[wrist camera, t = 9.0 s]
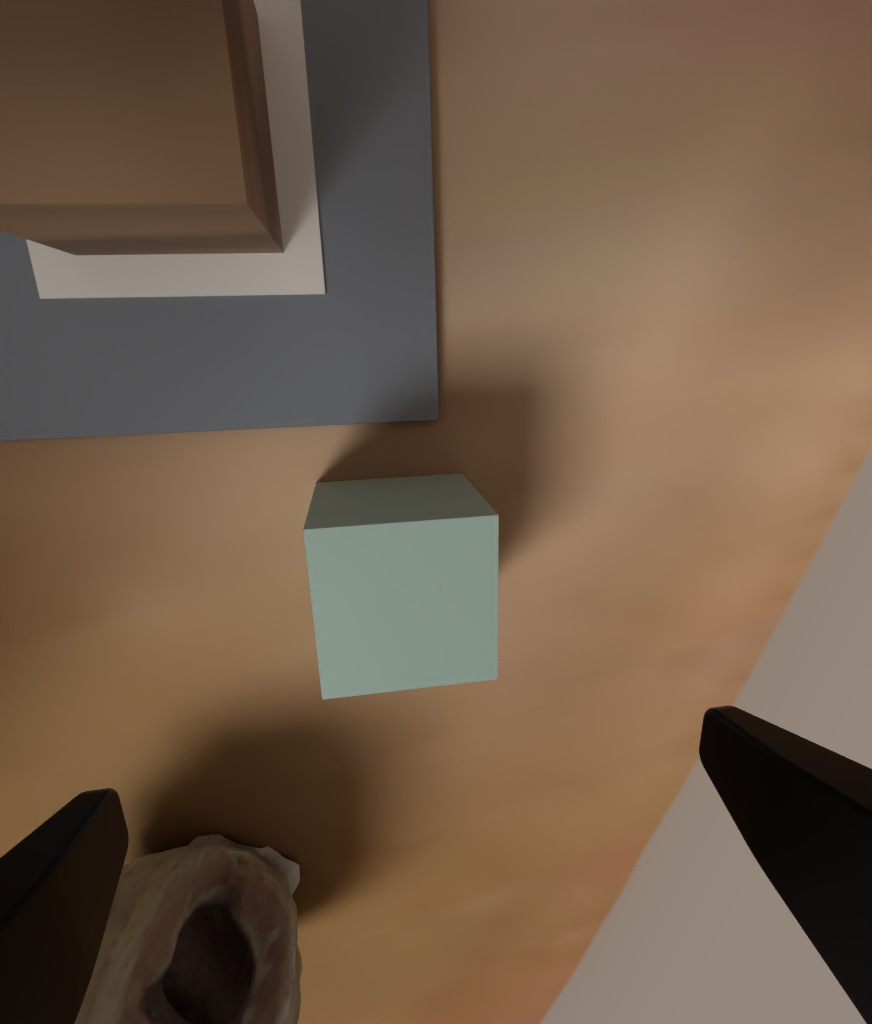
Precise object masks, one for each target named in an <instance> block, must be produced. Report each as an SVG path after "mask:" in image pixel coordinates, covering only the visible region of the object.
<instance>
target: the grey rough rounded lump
mask: <svg viewBox="0 0 872 1024" xmlns="http://www.w3.org/2000/svg"><path fill="white" fill-rule="evenodd" d="M299 881H300V867H299V865H298V864H297V863H295V862H293V861H290V860H288V859H285V858H284V857H283V856H282V855H280V854H279V853H278V852H277V851H275V850H274V849H272V848H270V847H269V846H268V847H264V848H255V847H249V846H245V845H242V844H238V843H235V842H232V841H230V840H228V839H226V838H224V837H223V836H221V835H214V834H211V835H205V836H199V837H196V838H194V839H193V840H192V841H191V842H190V844H189V845H187V846H184V847H179V848H175V849H171V850H167V851H164V852H160V853H154V854H149V855H146V856H143V857H140V858H137V859H135V860H133V861H132V862H131V863H130V864H127V865H125V866H123V868H122V871H121V875H120V878H119V882H118V886H117V889H116V893H115V896H114V900H113V904H112V907H111V911H110V914H109V918H108V922H107V925H106V929H105V932H104V936H103V940H102V943H101V947H100V950H99V954H98V957H97V961H96V964H95V967H94V971H93V974H92V977H91V980H90V983H89V986H88V989H87V992H86V994H85V997H84V1000H83V1003H82V1005H81V1008H80V1011H79V1013H78V1016H77V1019H76V1021H75V1024H297V1022H298V1019H299V1012H300V1003H301V992H300V977H301V972H302V962H301V955H300V951H299V948H298V945H297V938H298V936H297V918H298V914H297V906H296V904H295V902H294V900H293V897H292V895H293V893H294V891H295V890H296V888H297V886H298V884H299Z"/></svg>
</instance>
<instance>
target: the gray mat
mask: <svg viewBox="0 0 872 1024" xmlns="http://www.w3.org/2000/svg"><path fill="white" fill-rule="evenodd" d="M253 1H254V4H255V8H256V11H257V16H258V25H259V34H260V43H261V52H262V61H263V70H264V80H265V89H266V98H267V107H268V116H269V125H270V134H271V144H272V153H273V162H274V171H275V180H276V189H277V198H278V207H279V217H280V226H281V235H282V244H283V253H233V254H149V255H73V254H70V253H67V252H64V251H61V250H58V249H55V248H52V247H49V246H46V245H42V244H39V243H36V242H33V241H30V240H27V239H24V238H21V237H18V236H15V235H12V234H9V233H6V232H3V231H0V441H12V440H33V439H53V438H74V437H94V436H115V435H135V434H156V433H177V432H197V431H218V430H238V429H259V428H279V427H300V426H320V425H341V424H362V423H382V422H403V421H423V420H439V403H438V365H437V327H436V289H435V251H434V214H433V176H432V138H431V100H430V62H429V24H428V0H253Z"/></svg>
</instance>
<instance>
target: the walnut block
mask: <svg viewBox="0 0 872 1024" xmlns="http://www.w3.org/2000/svg"><path fill="white" fill-rule="evenodd" d="M0 231H3V232H6V233H9V234H12V235H15V236H18V237H21V238H24V239H27V240H30V241H33V242H36V243H39V244H42V245H46V246H49V247H52V248H55V249H58V250H61V251H64V252H67V253H70V254H73V255H149V254H233V253H283V244H282V235H281V226H280V217H279V207H278V198H277V189H276V180H275V171H274V162H273V153H272V144H271V134H270V125H269V116H268V107H267V98H266V89H265V80H264V70H263V61H262V52H261V43H260V34H259V25H258V16H257V11H256V8H255V4H254V1H253V0H0Z"/></svg>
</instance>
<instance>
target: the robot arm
mask: <svg viewBox="0 0 872 1024" xmlns="http://www.w3.org/2000/svg"><path fill="white" fill-rule="evenodd" d="M699 754H700V759H701V762H702V764H703V767H704V768H705V770H706V772H707V774H708V776H709V777H710V779H711V781H712V783H713V784H714V786H715V788H716V790H717V792H718V793H719V795H720V797H721V799H722V801H723V802H724V804H725V806H726V808H727V809H728V811H729V813H730V814H731V816H732V818H733V820H734V822H735V824H736V825H737V827H738V829H739V831H740V832H741V834H742V836H743V838H744V840H745V841H746V843H747V845H748V847H749V848H750V850H751V852H752V853H753V855H754V857H755V858H756V860H757V862H758V863H759V865H760V866H761V868H762V869H763V871H764V872H765V874H766V876H767V877H768V879H769V880H770V881H771V883H772V884H773V886H774V887H775V889H776V890H777V892H778V893H779V895H780V896H781V898H782V899H783V901H784V902H785V904H786V905H787V907H788V908H789V910H790V911H791V912H792V914H793V915H794V917H795V918H796V920H797V921H798V923H799V924H800V926H801V927H802V929H803V930H804V932H805V933H806V935H807V936H808V938H809V939H810V941H811V942H812V943H813V945H814V946H815V948H816V949H817V951H818V952H819V954H820V955H821V957H822V958H823V960H824V961H825V963H826V964H827V966H828V967H829V969H830V970H831V972H832V973H833V974H834V976H835V977H836V979H837V980H838V982H839V983H840V985H841V986H842V988H843V989H844V991H845V992H846V994H847V995H848V996H849V998H850V999H851V1001H852V1002H853V1004H854V1005H855V1007H856V1008H857V1010H858V1011H859V1013H860V1014H861V1016H862V1017H863V1019H864V1020H865V1022H866V1023H867V1024H872V769H870V768H868V767H866V766H864V765H862V764H859V763H857V762H855V761H853V760H851V759H848V758H846V757H844V756H842V755H840V754H838V753H835V752H833V751H831V750H829V749H826V748H824V747H822V746H820V745H818V744H815V743H813V742H811V741H809V740H807V739H804V738H802V737H800V736H798V735H796V734H794V733H791V732H789V731H787V730H785V729H783V728H780V727H778V726H776V725H774V724H772V723H769V722H767V721H765V720H763V719H761V718H758V717H756V716H754V715H752V714H750V713H748V712H745V711H743V710H741V709H738V708H736V707H734V706H722V707H714V708H710V709H708V710H707V711H706V712H705V714H704V718H703V725H702V732H701V739H700V745H699ZM128 839H129V837H128V829H127V826H126V822H125V818H124V814H123V810H122V806H121V803H120V799H119V796H118V793H117V792H116V791H115V790H114V789H111V788H106V789H99V790H91V791H86V792H82V793H80V794H79V795H77V796H76V797H75V798H73V799H72V800H71V801H70V802H69V803H67V804H66V805H65V806H64V807H62V808H61V809H60V810H59V811H58V812H56V813H55V814H54V815H53V816H51V817H50V818H49V819H48V820H46V821H45V822H44V823H43V824H42V825H40V826H39V827H38V828H37V829H35V830H34V831H33V832H32V833H31V834H29V835H28V836H27V837H26V838H24V839H23V840H22V841H21V842H19V843H18V844H17V845H16V846H15V847H13V848H12V849H11V850H10V851H8V852H7V853H6V854H5V855H4V856H2V857H1V858H0V1024H75V1021H76V1019H77V1016H78V1013H79V1011H80V1008H81V1005H82V1003H83V1000H84V997H85V994H86V992H87V989H88V986H89V983H90V980H91V977H92V974H93V971H94V967H95V964H96V961H97V957H98V954H99V950H100V947H101V943H102V940H103V936H104V932H105V929H106V925H107V922H108V918H109V914H110V911H111V907H112V904H113V900H114V896H115V893H116V889H117V886H118V882H119V878H120V875H121V871H122V868H123V864H124V860H125V857H126V853H127V849H128Z"/></svg>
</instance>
